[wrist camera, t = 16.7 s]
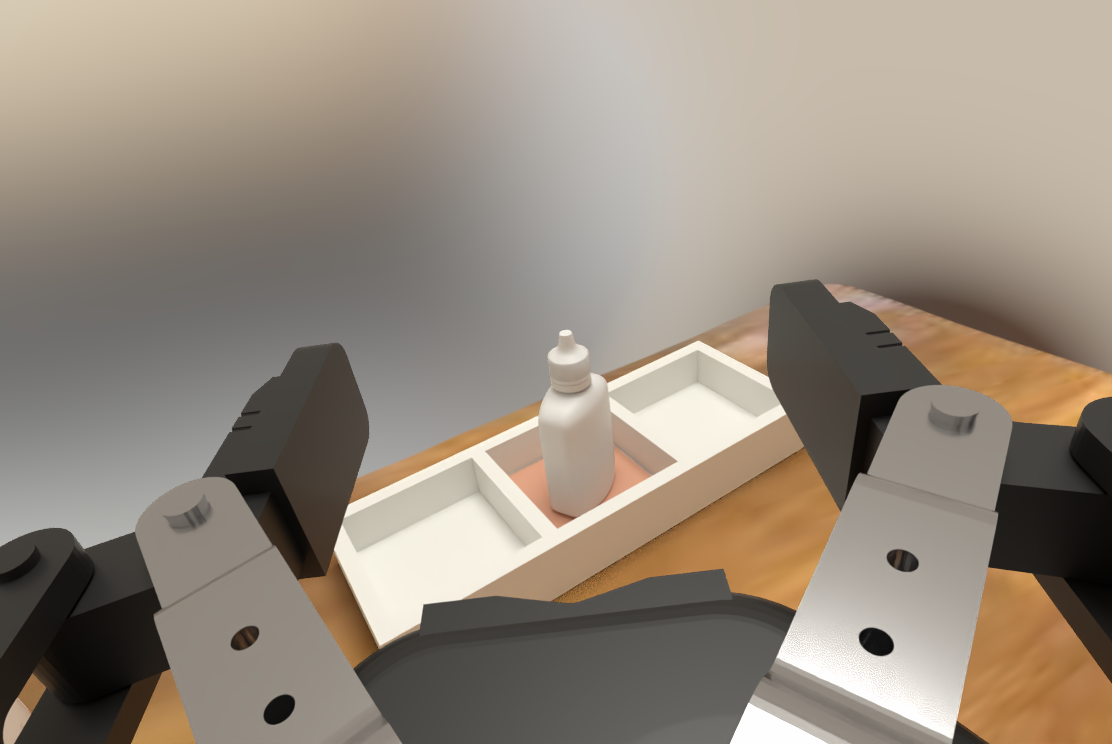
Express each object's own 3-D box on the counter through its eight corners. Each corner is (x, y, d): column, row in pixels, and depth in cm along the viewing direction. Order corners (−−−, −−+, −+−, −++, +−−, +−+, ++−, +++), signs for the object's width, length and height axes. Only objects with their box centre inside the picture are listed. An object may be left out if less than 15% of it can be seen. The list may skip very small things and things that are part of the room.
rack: (698, 382, 55) (698, 340, 53) (806, 445, 47) (811, 399, 45) (338, 563, 42) (319, 518, 40) (399, 693, 34) (379, 646, 32)
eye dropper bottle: (531, 490, 44) (504, 335, 38) (600, 455, 46) (585, 304, 40) (566, 528, 41) (542, 366, 35) (638, 489, 43) (628, 330, 37)
